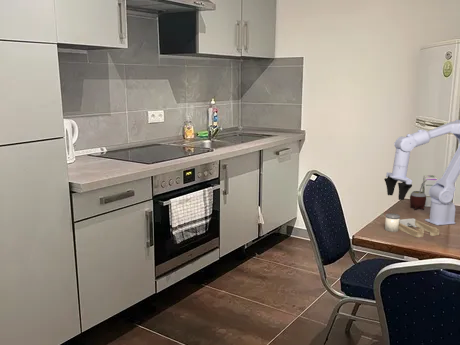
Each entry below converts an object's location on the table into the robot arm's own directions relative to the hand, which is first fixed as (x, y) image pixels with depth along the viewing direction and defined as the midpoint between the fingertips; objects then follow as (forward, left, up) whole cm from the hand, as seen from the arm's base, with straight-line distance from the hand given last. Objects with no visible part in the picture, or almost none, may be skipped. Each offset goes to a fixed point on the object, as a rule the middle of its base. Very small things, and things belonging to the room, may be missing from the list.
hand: (395, 197), depth 192 cm
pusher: (-2, +9, -11) cm, 14 cm away
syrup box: (-34, -21, -11) cm, 41 cm away
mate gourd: (-25, -17, -11) cm, 32 cm away
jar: (+7, +8, -11) cm, 15 cm away
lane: (-2, +11, -11) cm, 16 cm away
